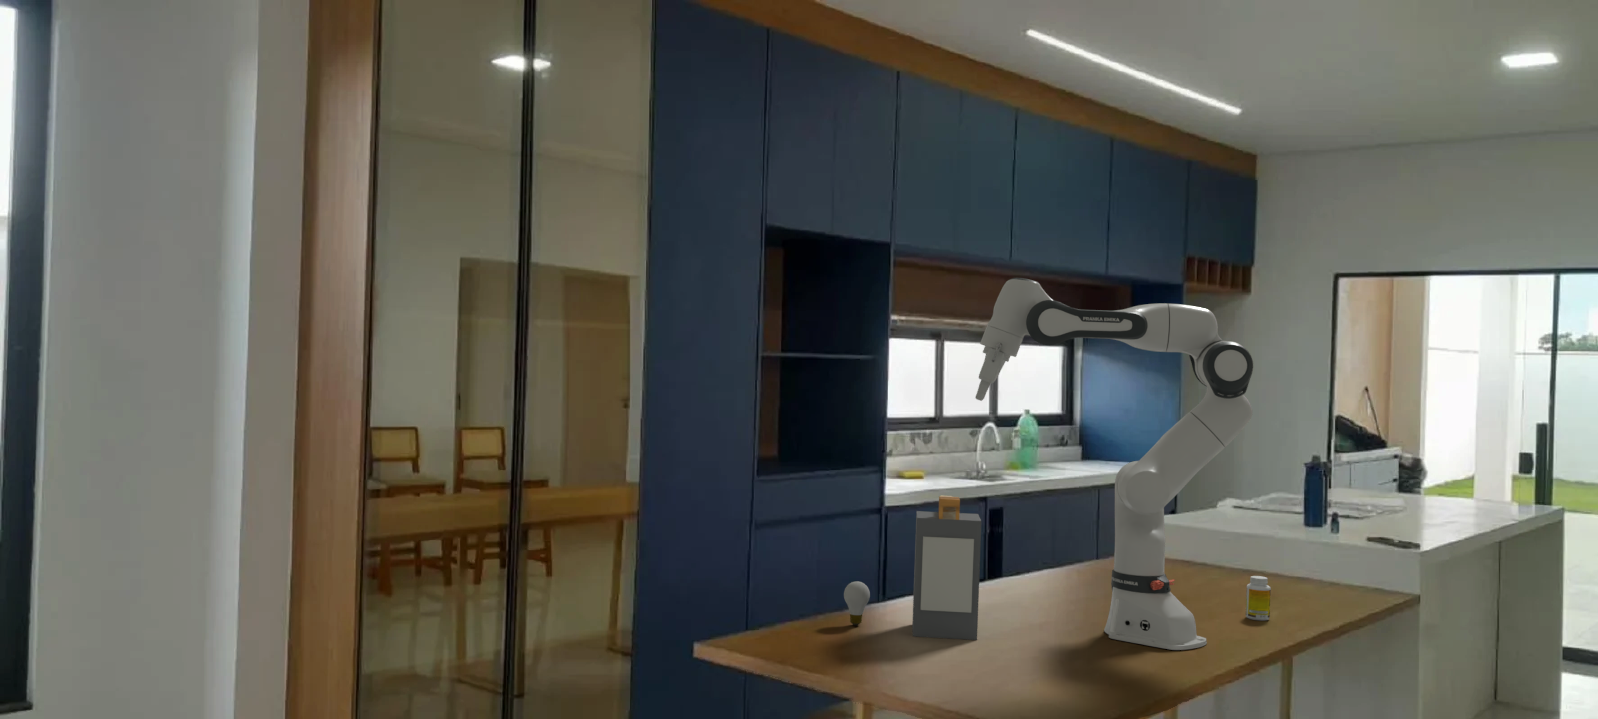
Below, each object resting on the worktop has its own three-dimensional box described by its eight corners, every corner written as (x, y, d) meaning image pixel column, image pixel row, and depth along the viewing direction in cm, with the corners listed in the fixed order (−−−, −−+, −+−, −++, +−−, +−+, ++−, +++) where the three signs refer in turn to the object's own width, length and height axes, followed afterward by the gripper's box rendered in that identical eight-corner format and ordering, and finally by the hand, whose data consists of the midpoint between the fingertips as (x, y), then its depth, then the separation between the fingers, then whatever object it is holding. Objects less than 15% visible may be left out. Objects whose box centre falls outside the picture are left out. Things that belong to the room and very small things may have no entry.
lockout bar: (936, 506, 285) (937, 488, 285) (955, 507, 284) (955, 489, 284) (938, 518, 263) (939, 498, 263) (959, 519, 263) (959, 499, 263)
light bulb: (866, 629, 268) (868, 584, 268) (840, 627, 270) (842, 582, 270) (870, 623, 274) (872, 580, 274) (845, 621, 275) (846, 578, 275)
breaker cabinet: (912, 624, 275) (916, 511, 275) (973, 627, 274) (978, 513, 274) (912, 636, 263) (917, 518, 263) (977, 640, 262) (981, 521, 262)
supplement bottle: (1273, 621, 293) (1275, 579, 293) (1250, 620, 293) (1252, 579, 293) (1263, 616, 299) (1265, 575, 299) (1241, 615, 298) (1243, 574, 298)
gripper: (1013, 347, 268) (991, 405, 269) (1013, 349, 288) (992, 402, 289) (986, 337, 269) (964, 395, 270) (988, 339, 289) (968, 393, 290)
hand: (979, 399), depth 280 cm, fingers open, 8 cm apart
